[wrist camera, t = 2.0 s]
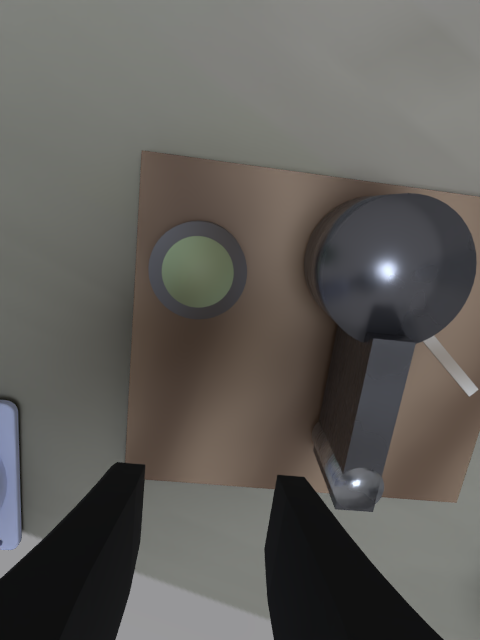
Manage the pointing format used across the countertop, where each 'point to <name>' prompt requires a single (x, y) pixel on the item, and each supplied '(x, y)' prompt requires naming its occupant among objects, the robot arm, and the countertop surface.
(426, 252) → the knob
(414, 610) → the robot arm
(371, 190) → the tribrach board
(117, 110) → the countertop surface
